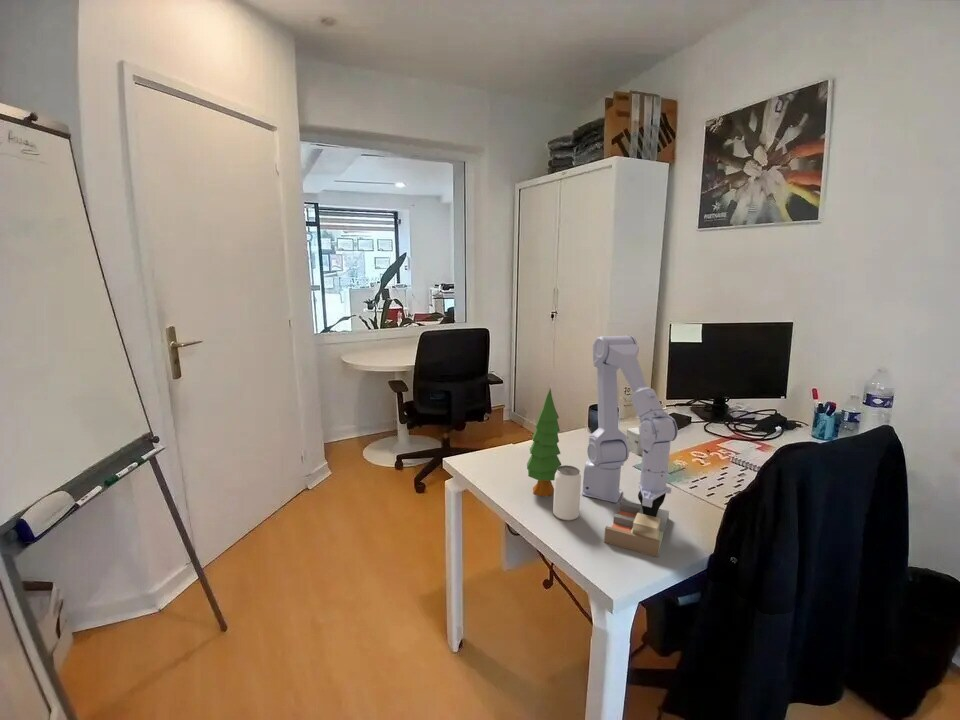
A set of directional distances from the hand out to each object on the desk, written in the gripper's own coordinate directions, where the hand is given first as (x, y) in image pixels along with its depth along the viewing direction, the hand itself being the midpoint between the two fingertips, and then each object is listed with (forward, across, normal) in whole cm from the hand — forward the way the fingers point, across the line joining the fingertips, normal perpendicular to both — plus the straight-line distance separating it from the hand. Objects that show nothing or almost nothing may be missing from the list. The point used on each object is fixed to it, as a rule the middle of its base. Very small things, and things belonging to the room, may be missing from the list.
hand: (649, 521), depth 111 cm
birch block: (+1, -6, 0) cm, 6 cm away
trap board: (+3, 0, +2) cm, 4 cm away
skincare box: (+3, +52, +12) cm, 54 cm away
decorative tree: (+3, +7, +30) cm, 31 cm away
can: (+3, -2, +20) cm, 20 cm away
